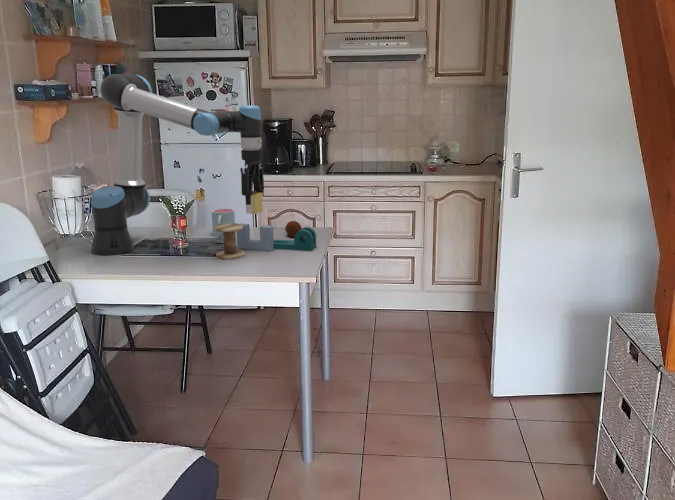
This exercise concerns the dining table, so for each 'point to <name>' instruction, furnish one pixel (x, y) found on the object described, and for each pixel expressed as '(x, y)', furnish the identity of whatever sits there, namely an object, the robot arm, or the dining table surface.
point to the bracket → (298, 241)
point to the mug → (222, 219)
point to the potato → (292, 228)
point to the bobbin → (229, 241)
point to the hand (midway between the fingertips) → (253, 211)
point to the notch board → (262, 244)
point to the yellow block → (257, 202)
